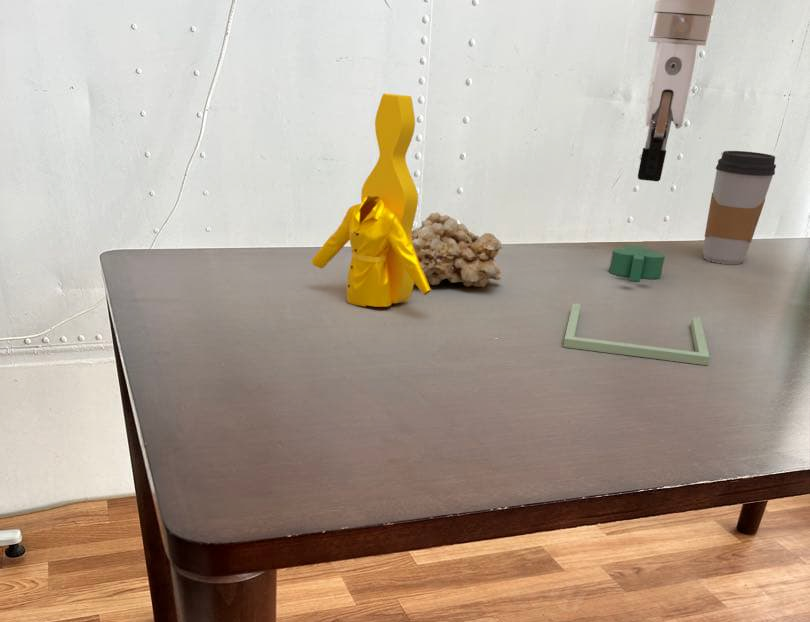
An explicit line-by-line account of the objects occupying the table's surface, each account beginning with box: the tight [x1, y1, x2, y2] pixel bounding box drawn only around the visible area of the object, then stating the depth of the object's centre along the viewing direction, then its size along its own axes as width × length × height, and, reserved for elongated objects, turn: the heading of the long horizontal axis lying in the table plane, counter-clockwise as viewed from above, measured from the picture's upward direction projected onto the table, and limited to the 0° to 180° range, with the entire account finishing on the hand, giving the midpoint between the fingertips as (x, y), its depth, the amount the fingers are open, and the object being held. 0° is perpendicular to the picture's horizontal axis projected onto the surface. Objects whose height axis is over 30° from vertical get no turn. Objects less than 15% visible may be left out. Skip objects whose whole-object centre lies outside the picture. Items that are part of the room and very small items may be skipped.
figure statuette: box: [310, 93, 432, 308], centre depth 92 cm, size 18×8×22 cm, turn 53°
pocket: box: [562, 303, 710, 366], centre depth 92 cm, size 14×15×1 cm
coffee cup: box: [701, 150, 777, 265], centre depth 123 cm, size 8×8×15 cm
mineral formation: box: [412, 212, 503, 288], centre depth 107 cm, size 8×13×15 cm
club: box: [608, 245, 666, 282], centre depth 116 cm, size 8×7×3 cm
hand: (648, 179), depth 118 cm, fingers closed
